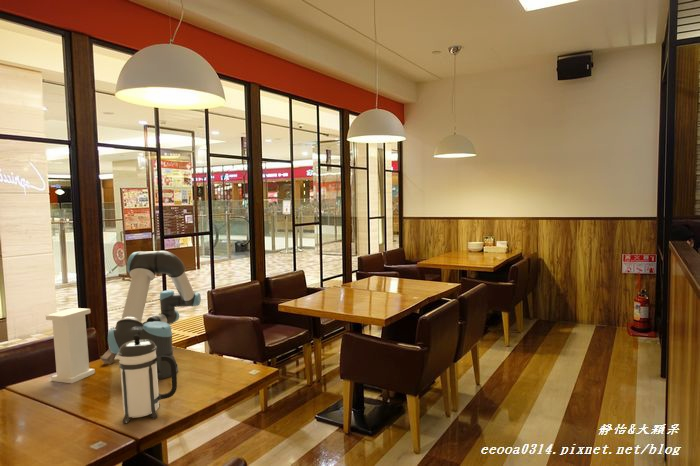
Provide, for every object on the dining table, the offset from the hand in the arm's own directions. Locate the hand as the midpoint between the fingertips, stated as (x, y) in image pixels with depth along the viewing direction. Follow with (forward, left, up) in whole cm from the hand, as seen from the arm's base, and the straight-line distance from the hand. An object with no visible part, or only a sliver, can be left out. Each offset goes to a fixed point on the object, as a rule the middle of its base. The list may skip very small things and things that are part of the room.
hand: (123, 334), depth 234 cm
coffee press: (-71, +28, -12) cm, 78 cm away
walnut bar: (0, +1, -6) cm, 6 cm away
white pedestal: (-7, +27, -11) cm, 31 cm away
